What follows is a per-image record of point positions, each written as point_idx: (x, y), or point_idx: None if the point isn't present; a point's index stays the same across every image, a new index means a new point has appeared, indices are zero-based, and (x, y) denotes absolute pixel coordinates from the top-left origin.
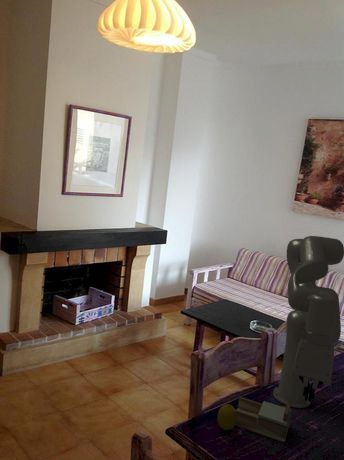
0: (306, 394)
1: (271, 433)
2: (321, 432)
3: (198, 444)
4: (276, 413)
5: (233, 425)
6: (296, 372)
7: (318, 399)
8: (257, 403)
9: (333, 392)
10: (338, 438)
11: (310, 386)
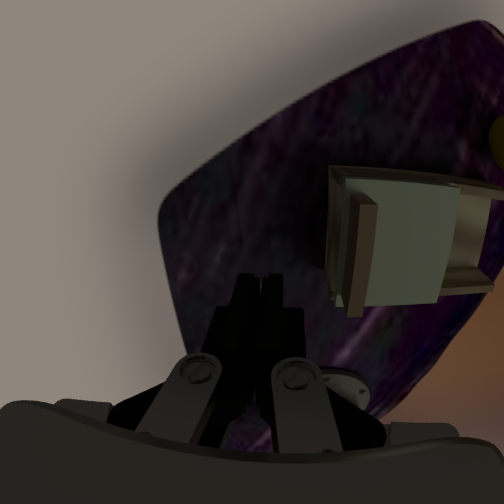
0: (274, 301)
1: (382, 169)
2: (220, 295)
3: None
4: (394, 240)
5: (495, 124)
6: (483, 453)
7: (253, 418)
8: (448, 287)
9: (227, 442)
10: (172, 290)
11: (248, 386)
